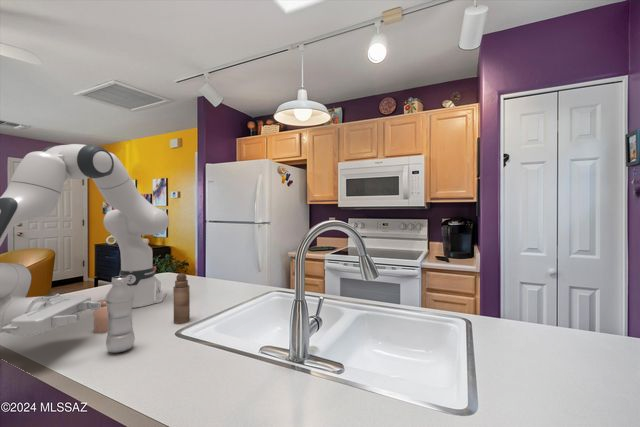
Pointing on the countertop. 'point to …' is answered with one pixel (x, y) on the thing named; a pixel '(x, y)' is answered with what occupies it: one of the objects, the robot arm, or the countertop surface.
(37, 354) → the countertop surface
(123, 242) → the robot arm
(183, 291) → the pepper mill
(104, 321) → the salt jar
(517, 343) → the countertop surface
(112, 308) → the plastic bottle
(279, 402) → the countertop surface
